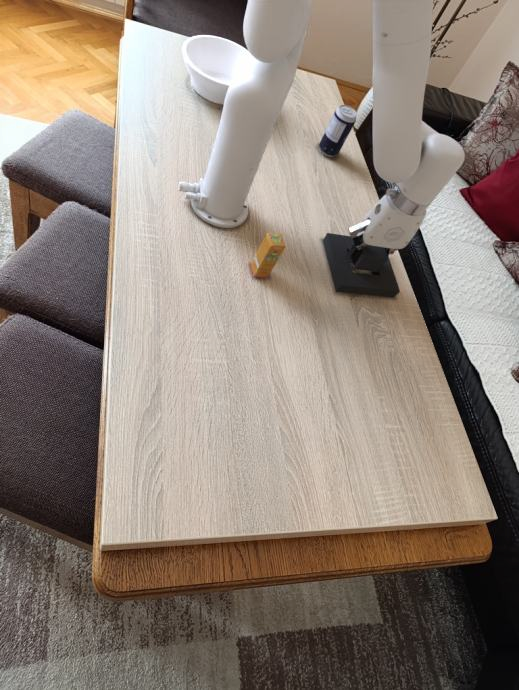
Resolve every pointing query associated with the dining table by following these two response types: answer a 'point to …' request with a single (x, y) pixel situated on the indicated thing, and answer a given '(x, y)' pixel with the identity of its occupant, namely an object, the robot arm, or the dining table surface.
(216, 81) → the bowl
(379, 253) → the black square block
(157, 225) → the dining table surface
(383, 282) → the socket pad
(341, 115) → the beverage can
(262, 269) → the supplement box
